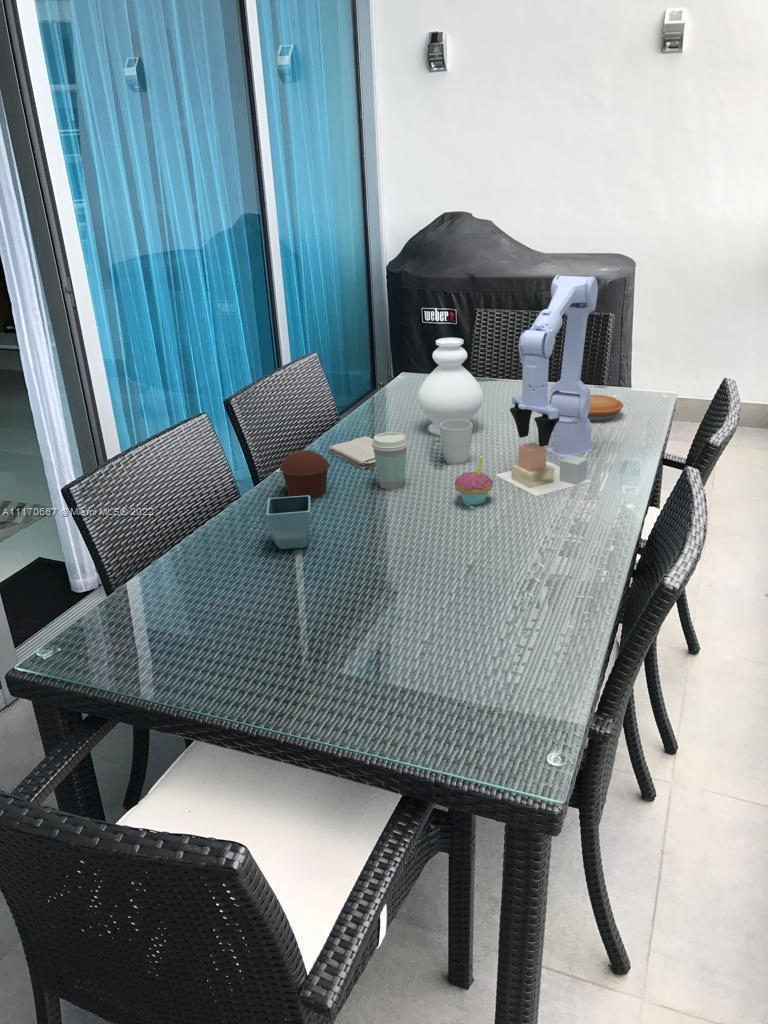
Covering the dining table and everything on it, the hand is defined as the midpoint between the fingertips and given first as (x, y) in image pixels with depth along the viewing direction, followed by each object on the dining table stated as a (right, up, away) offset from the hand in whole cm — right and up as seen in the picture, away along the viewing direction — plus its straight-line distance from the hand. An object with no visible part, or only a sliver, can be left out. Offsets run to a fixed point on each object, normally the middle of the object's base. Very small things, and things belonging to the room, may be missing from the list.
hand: (533, 441), depth 202 cm
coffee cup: (-33, -10, +7) cm, 35 cm away
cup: (-16, -4, +19) cm, 25 cm away
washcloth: (-40, -2, +26) cm, 48 cm away
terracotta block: (0, -6, +2) cm, 6 cm away
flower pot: (-54, -23, -21) cm, 62 cm away
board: (+3, -9, +5) cm, 11 cm away
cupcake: (-14, -15, -5) cm, 21 cm away
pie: (+26, +11, +49) cm, 56 cm away
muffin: (-53, -12, +5) cm, 54 cm away
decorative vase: (-16, +7, +43) cm, 47 cm away
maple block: (0, -9, +4) cm, 10 cm away
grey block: (+10, -9, +3) cm, 14 cm away
